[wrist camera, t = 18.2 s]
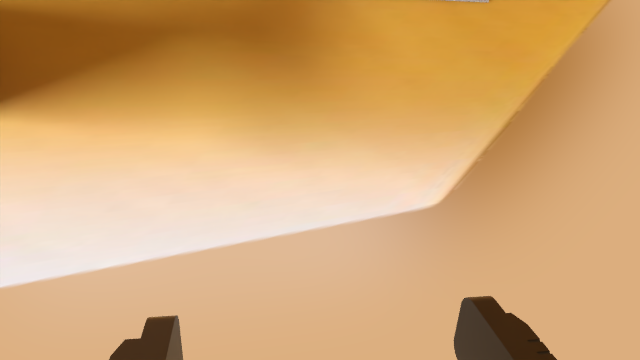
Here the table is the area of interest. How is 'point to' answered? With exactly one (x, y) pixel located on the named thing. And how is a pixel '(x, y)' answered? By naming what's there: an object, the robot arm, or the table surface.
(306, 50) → the table surface
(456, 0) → the rubber mat
